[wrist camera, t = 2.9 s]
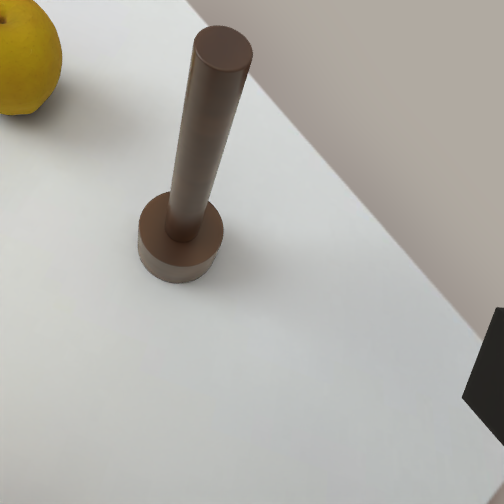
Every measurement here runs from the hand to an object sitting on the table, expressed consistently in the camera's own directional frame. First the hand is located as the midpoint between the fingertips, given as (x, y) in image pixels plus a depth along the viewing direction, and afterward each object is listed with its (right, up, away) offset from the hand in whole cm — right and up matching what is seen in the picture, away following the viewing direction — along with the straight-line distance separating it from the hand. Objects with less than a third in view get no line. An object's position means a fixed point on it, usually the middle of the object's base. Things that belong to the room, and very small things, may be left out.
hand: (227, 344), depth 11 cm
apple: (-15, +12, +22) cm, 30 cm away
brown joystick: (-4, +2, +20) cm, 21 cm away
